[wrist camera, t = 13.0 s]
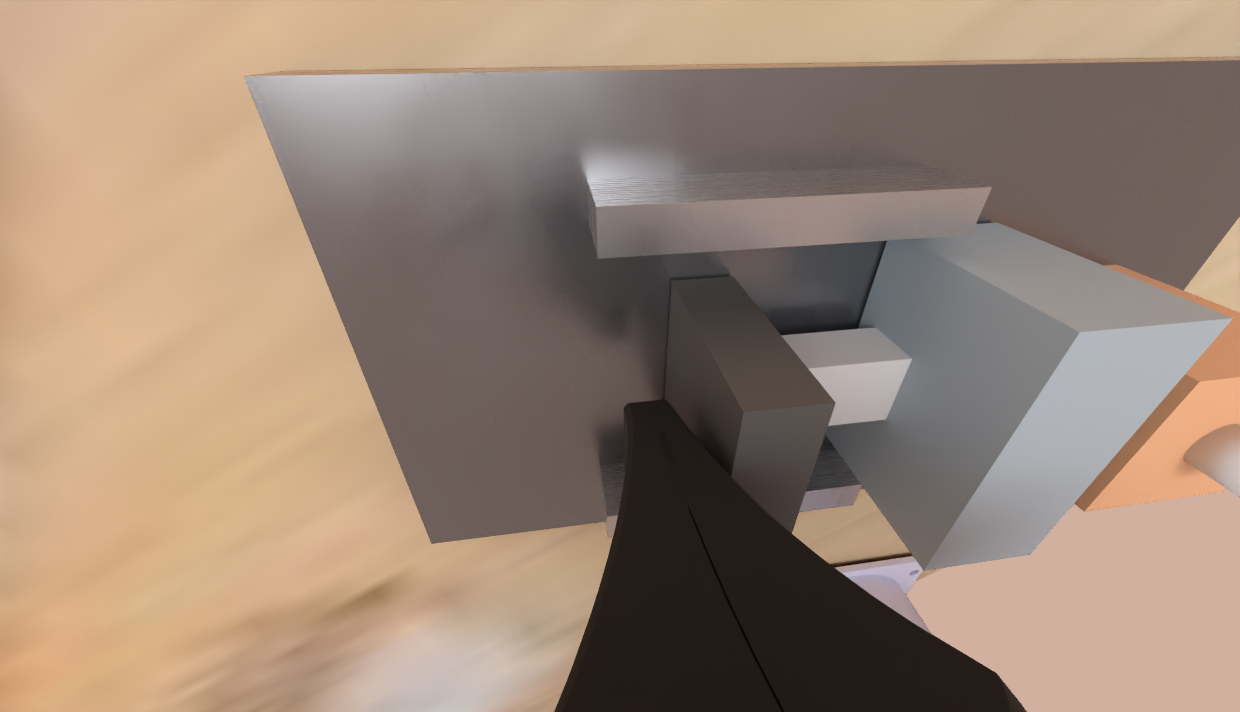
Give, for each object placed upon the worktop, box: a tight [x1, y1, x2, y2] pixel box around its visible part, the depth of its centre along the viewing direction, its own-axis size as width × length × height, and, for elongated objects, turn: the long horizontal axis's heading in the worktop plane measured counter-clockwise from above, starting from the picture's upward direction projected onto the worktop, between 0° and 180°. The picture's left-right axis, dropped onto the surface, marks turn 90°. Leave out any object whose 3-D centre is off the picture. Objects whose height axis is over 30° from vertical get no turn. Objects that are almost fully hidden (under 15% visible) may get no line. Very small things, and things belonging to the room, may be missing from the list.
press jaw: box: [664, 223, 1233, 571], centre depth 11 cm, size 7×9×5 cm
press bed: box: [244, 57, 1240, 544], centre depth 13 cm, size 14×24×4 cm, turn 90°
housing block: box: [1075, 265, 1240, 512], centre depth 12 cm, size 4×4×6 cm
